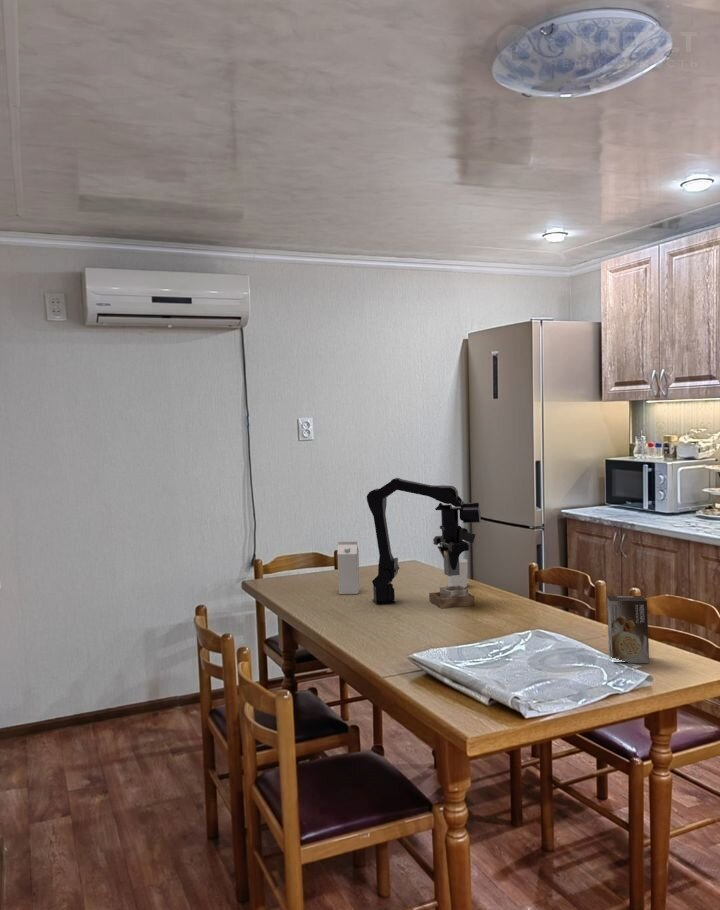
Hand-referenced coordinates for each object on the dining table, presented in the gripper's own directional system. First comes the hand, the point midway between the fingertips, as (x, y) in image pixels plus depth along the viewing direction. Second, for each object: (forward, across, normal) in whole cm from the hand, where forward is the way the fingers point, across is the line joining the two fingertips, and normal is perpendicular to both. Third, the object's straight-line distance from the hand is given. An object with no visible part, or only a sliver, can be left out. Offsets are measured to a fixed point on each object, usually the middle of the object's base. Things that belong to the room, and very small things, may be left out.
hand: (451, 568), depth 261 cm
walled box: (+12, +1, 0) cm, 12 cm away
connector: (+2, 0, 0) cm, 2 cm away
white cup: (+12, +24, -11) cm, 29 cm away
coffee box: (+13, -73, -20) cm, 76 cm away
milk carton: (+12, +31, +29) cm, 44 cm away
